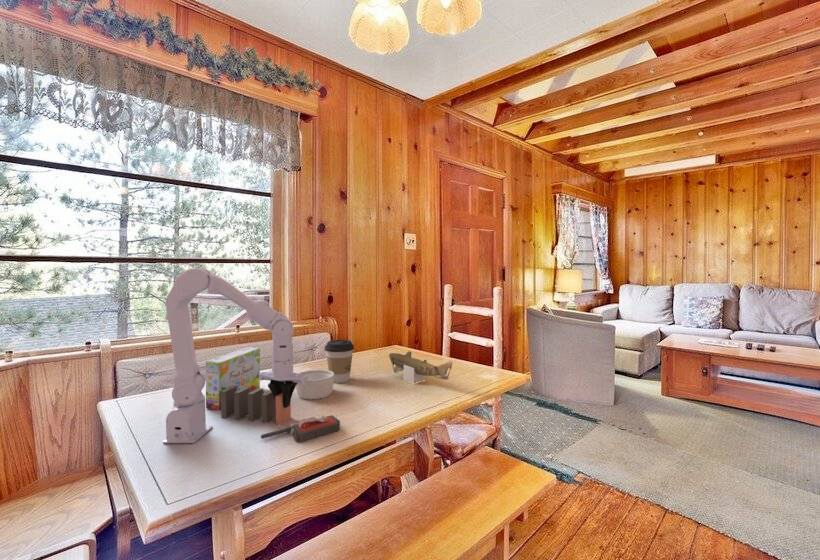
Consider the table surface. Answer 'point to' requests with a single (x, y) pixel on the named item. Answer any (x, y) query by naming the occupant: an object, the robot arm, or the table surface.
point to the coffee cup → (339, 359)
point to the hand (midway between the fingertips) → (283, 406)
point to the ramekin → (316, 384)
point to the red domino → (282, 410)
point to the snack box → (231, 374)
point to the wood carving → (417, 368)
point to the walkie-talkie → (309, 428)
